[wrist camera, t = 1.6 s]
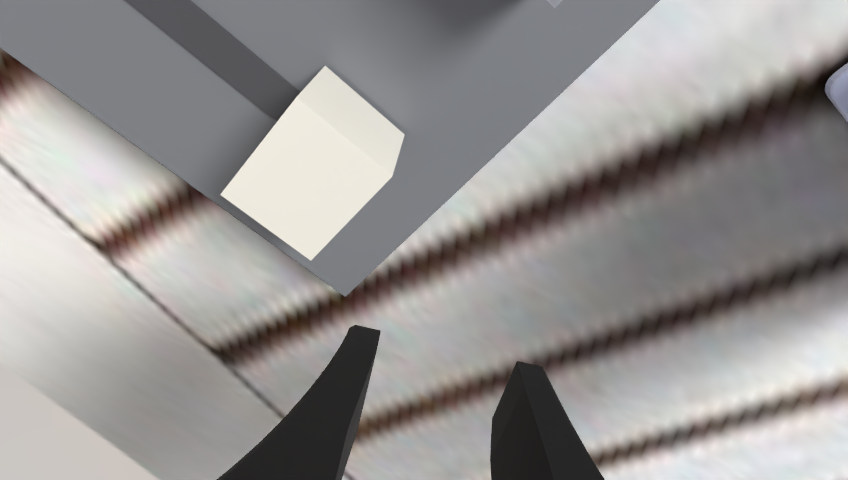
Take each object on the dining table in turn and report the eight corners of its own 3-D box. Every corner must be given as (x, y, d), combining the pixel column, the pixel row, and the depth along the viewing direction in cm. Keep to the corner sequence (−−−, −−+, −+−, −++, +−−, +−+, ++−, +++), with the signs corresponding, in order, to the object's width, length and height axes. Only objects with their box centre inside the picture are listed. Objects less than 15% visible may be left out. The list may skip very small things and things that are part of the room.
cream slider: (405, 134, 17) (392, 176, 14) (333, 210, 18) (310, 260, 16) (325, 65, 16) (296, 96, 13) (257, 151, 17) (220, 194, 15)
